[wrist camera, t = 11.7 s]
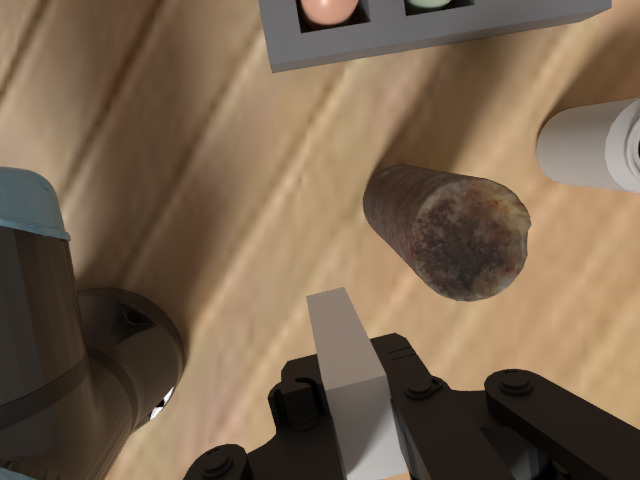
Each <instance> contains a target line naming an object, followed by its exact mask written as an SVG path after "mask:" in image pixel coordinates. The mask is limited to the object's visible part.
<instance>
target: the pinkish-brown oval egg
mask: <svg viewBox="0 0 640 480" xmlns="http://www.w3.org/2000/svg"><path fill="white" fill-rule="evenodd" d="M357 3H358V0H299V7H300V12H301V15H302V18H303V20H304V21H305V23H306V24H307V25H308V26H309V27H310V28H311V29H313V30H314V31H320V30H326V29H332V28H338V27H344V26H346V25H347V24H348V22H349V21H350V19H351V17H352V14H353V12H354V10H355V7H356V5H357Z"/></svg>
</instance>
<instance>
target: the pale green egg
mask: <svg viewBox="0 0 640 480" xmlns="http://www.w3.org/2000/svg"><path fill="white" fill-rule="evenodd" d="M450 1H451V0H404V6H405V12H406V13H408V14H409V15H417V14H423V13H429V12H435V11H440V10H441V9H442V8H443V7H444V6H446V5H447V4H448V3H449V2H450Z"/></svg>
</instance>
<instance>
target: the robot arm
mask: <svg viewBox="0 0 640 480" xmlns="http://www.w3.org/2000/svg"><path fill="white" fill-rule="evenodd" d="M68 241H71V238H70V235H69V234H68V233H67V232H66V231H65V227H64V223H63V219H62V215H61V211H60V207H59V203H58V198H57V194H56V192H55V190H54V188H53V186H52V185H51V184H50V182H49V181H48V180H47V179H45V178H44V177H43V176H41V175H39V174H37V173H35V172H32V171H29V170H25V169H20V168H11V167H2V166H0V480H105V478H106V476H107V474H108V473H109V471H110V469H111V467H112V466H113V464H114V462H115V460H116V459H117V457H118V455H119V453H120V452H121V450H122V448H123V446H124V445H125V443H126V441H127V439H128V437H129V436H130V435H131V434H132V433H134V432H135V431H137V430H138V429H139V428H141V427H142V426H143V425H145V424H146V423H147V422H149V421H150V420H151V419H153V418H154V417H155V416H156V415H157V414H158V413H159V412H160V411H161V410H162V409H163V408H164V407H165V406H166V405H167V403H168V402H169V400H170V399H171V397H172V395H173V393H174V391H175V389H176V387H177V385H178V383H179V381H180V378H181V375H182V371H183V365H184V353H183V347H182V343H181V339H180V337H179V334H178V332H177V330H176V328H175V326H174V325H173V323H172V322H171V320H170V319H169V318H168V317H167V315H166V314H165V313H164V312H163V311H162V310H161V309H159V308H158V307H157V306H156V305H154V304H153V303H152V302H150V301H148V300H147V299H145V298H143V297H141V296H139V295H137V294H134V293H131V292H128V291H124V290H120V289H113V288H96V289H89V290H85V291H81V292H78V293H77V288H76V282H75V276H74V271H73V265H72V259H71V253H70V248H69V242H68ZM306 298H307V303H308V308H309V314H310V319H311V324H312V330H313V335H314V340H315V346H316V351H317V354H314V355H310V356H306V357H302V358H298V359H294V360H290V361H287V363H286V364H285V366H284V368H283V369H282V371H281V382H280V383H278V384H276V385H275V386H274V387H273V388H272V390H271V391H270V392H269V395H268V402H269V405H270V409H271V412H272V416H273V419H274V423H275V426H276V435H275V436H274V437H273V438H272V439H271V440H270V441H268V442H267V443H266V444H264V445H263V446H261V447H259V448H257V449H255V450H253V451H251V452H250V453H248V454H246V452H245V450H244V448H243V447H241V446H239V445H237V444H225V445H221V446H217V447H215V448H213V449H210V450H208V451H206V452H205V453H204V454H202V455H201V456H200V457H199V458H197V459H196V460H195V462H194V463H193V464H192V465H191V467H190V468H189V470H188V471H187V473H186V475H185V477H184V478H183V480H379V479H383V478H387V477H390V476H394V475H398V474H402V473H405V472H407V470H406V466H405V462H406V465H407V467H408V470H409V474H410V479H411V480H640V430H639V429H637V428H635V427H633V426H631V425H629V424H628V423H626V422H624V421H622V420H620V419H618V418H617V417H615V416H613V415H611V414H609V413H607V412H606V411H604V410H602V409H600V408H598V407H597V406H595V405H593V404H591V403H589V402H587V401H586V400H584V399H582V398H580V397H578V396H576V395H575V394H573V393H571V392H569V391H567V390H565V389H564V388H562V387H560V386H558V385H556V384H555V383H553V382H551V381H549V380H547V379H545V378H544V377H542V376H540V375H538V374H535V373H533V372H530V371H527V370H520V369H506V370H501V371H498V372H494V373H493V374H491V375H490V376H488V377H487V379H486V381H485V383H484V387H485V390H482V391H458V390H452V389H450V387H449V386H448V384H447V383H446V382H444V381H443V380H442V379H441V378H438V377H435V376H432V375H431V374H430V373H429V371H428V370H427V368H426V367H425V365H424V364H423V362H422V361H421V359H420V358H419V356H418V355H417V354H416V352H415V351H414V349H413V348H412V346H411V345H410V343H409V342H408V340H407V339H406V338H405V337H403V336H401V335H399V334H397V333H392V334H388V335H384V336H380V337H376V338H372V339H369V338H368V336H367V334H366V331H365V329H364V327H363V325H362V323H361V321H360V319H359V317H358V315H357V313H356V311H355V309H354V307H353V305H352V302H351V300H350V298H349V296H348V294H347V292H346V290H345V288H344V287H342V288H338V289H334V290H330V291H326V292H322V293H318V294H314V295H310V296H306ZM404 460H405V461H404Z"/></svg>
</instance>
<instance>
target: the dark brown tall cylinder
mask: <svg viewBox="0 0 640 480" xmlns="http://www.w3.org/2000/svg"><path fill="white" fill-rule="evenodd" d="M363 209H364V214H365V217H366V219H367V221H368V223H369V224H370V226H371V227H372V228H373V229H374V230H375V231H376V233H377V234H378V235H379V236H380V237H381V238H383V239H384V240H385V241H386V242H387V243H388V244H389V245H390V246H391V247H392V248H393V250H394V251H395V252H396V253H397V254H398V255H399V256H400V257H401V258H402V259H403V260H404V261H405V262H406V263H407V264H408V265H409V266H410V267H411V268H412V269H413V271H414V272H415V273H416V274H417V275H418V276H419V277H420V278H421V279H422V280H423V281H424V282H425V283H426V284H427V285H428V286H429V287H430V288H431V289H433V290H434V291H435V292H436V293H438V294H440V295H442V296H444V297H447V298H450V299H454V300H456V301H477V300H482V299H488V298H490V297H492V296H495V295H497V294H498V293H500V292H501V291H503V290H504V289H506V288H507V287H508V286H510V285H511V284H512V282H513V281H514V279H515V278H516V277H517V276H518V274H519V273H520V272H521V270H522V269H523V266H524V263H525V260H526V258H527V255H528V254H527V236H528V230H529V228H530V226H531V221H530V216H529V213H528V211H527V209H526V207H525V206H524V204H523V203H522V202H521V201H520V200H519V198H518V197H517V195H516V194H515V193H514V192H512V191H511V190H510V189H508V188H507V187H506V186H504V185H501V184H499V183H497V182H494V181H491V180H488V179H485V178H478V177H473V176H466V175H460V174H455V173H448V172H441V171H435V170H430V169H424V168H419V167H413V166H406V165H396V166H391V167H388V168H386V169H384V170H382V171H380V172H379V173H377V174H376V175H375V176H374V177H373V179H372V180H371V181H370V183H369V184H368V186H367V187H366V190H365V193H364V196H363Z"/></svg>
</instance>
